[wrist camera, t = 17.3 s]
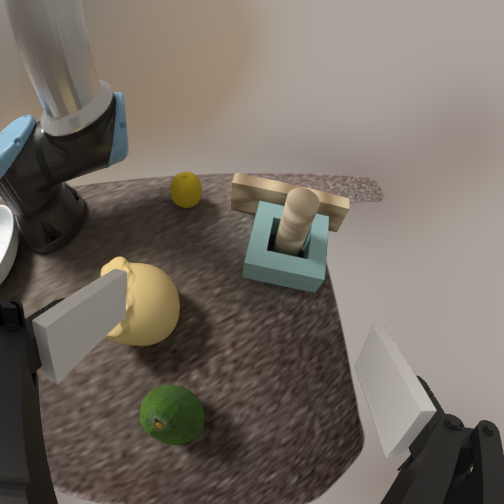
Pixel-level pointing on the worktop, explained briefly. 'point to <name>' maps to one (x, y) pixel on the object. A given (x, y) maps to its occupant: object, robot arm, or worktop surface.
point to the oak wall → (282, 197)
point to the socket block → (280, 265)
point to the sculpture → (145, 304)
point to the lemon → (186, 189)
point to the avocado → (172, 414)
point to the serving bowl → (7, 241)
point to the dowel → (296, 221)
